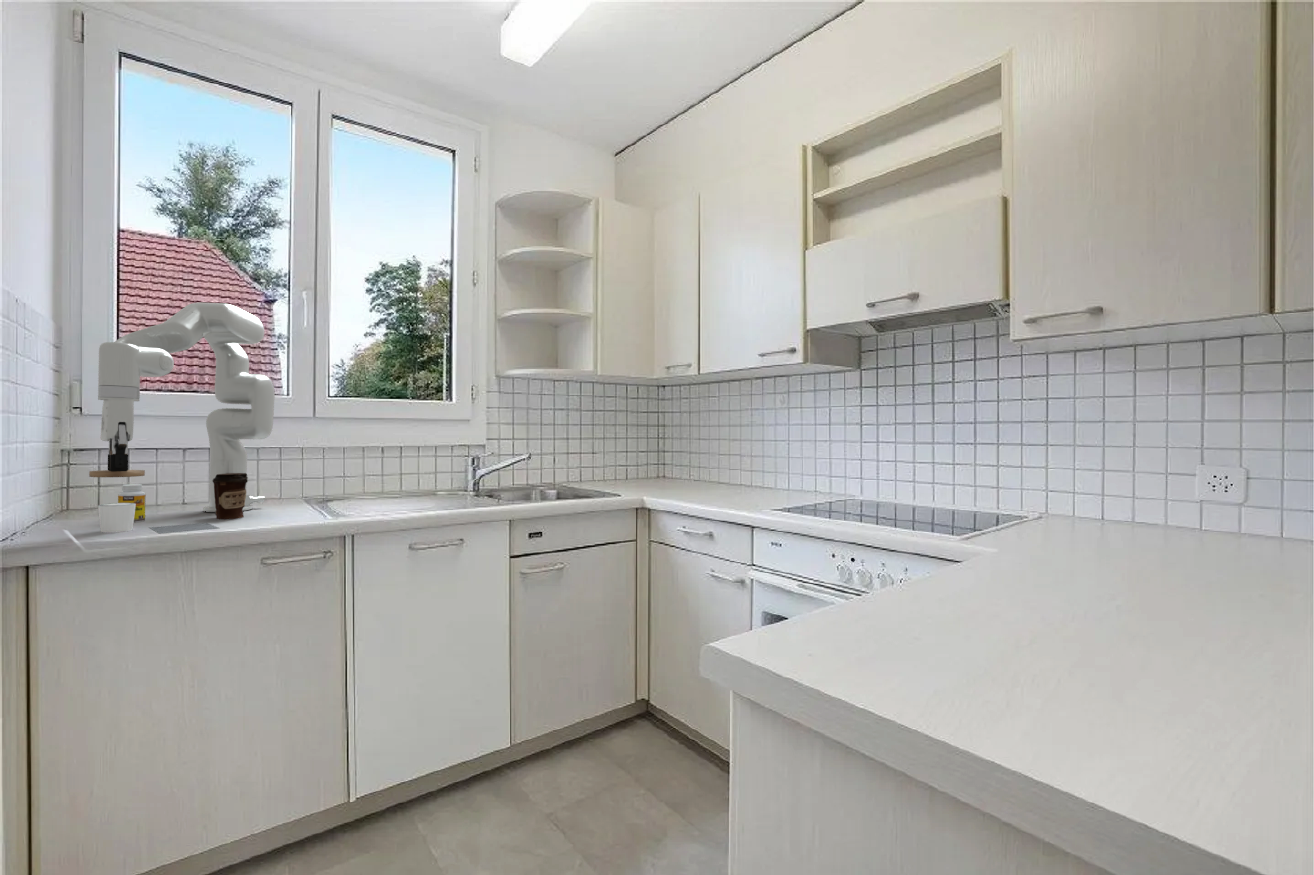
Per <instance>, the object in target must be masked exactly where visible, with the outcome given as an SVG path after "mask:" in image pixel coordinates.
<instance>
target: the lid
mask: <svg viewBox="0 0 1314 875" xmlns="http://www.w3.org/2000/svg"><path fill="white" fill-rule="evenodd" d="M110 455H112V451H110ZM145 474H146V472H145V470H144V469H128V471H115V472H112V471H108V469H106V470H105V469H103V470H101V469H100V470H89V472H88V475H89V476H88V477H89V478H133V477H143V476H145Z"/></svg>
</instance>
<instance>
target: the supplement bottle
mask: <svg viewBox="0 0 1314 875" xmlns="http://www.w3.org/2000/svg"><path fill="white" fill-rule="evenodd" d="M121 487H122V488H121V489H122V490H121V492H119V493H118V494H117V497H118V498H117V503H135V504H136V507H135V514H134V522H133V523H138V522H140V523H141V522H145V521H146V498H147V497H146V495H147V494H146V492H145V491H142V490H143V484H142V483H141V484H140V483H134V484H132V483H131V484H130V483H128V484H127V483H126V484H122V486H121Z"/></svg>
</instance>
